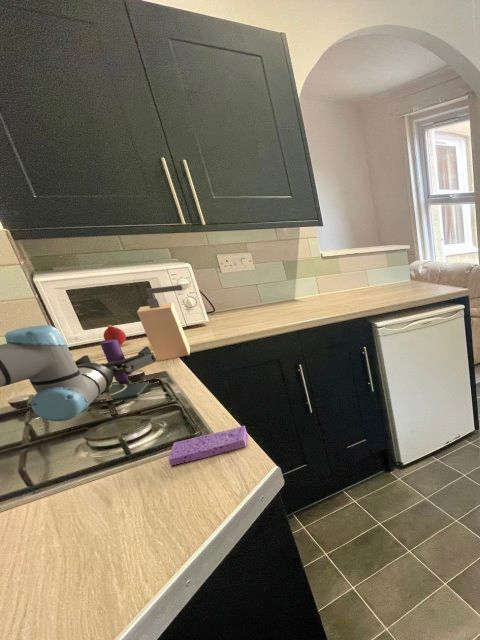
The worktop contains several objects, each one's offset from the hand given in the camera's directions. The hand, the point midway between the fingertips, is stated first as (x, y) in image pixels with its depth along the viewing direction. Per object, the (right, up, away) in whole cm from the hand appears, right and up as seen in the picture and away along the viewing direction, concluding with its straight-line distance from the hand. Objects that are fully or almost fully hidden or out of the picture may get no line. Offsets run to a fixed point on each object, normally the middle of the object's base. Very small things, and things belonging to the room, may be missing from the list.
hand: (119, 355), depth 117 cm
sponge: (+50, -21, -34) cm, 64 cm away
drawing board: (0, -11, -5) cm, 12 cm away
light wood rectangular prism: (-2, +2, +24) cm, 24 cm away
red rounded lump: (-33, +6, +36) cm, 49 cm away
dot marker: (+2, -8, 0) cm, 8 cm away
